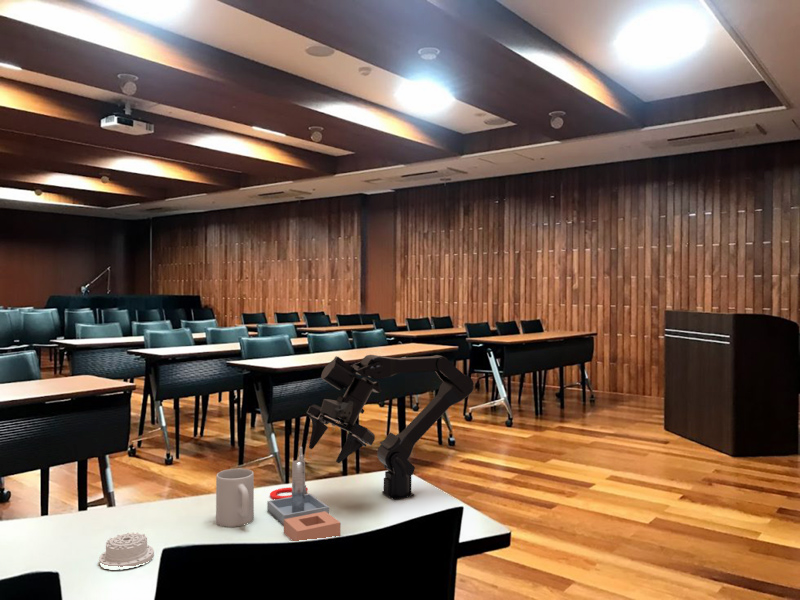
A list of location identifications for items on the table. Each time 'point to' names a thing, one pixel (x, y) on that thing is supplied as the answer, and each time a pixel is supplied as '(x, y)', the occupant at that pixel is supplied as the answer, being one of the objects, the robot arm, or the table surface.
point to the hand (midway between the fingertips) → (323, 455)
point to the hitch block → (311, 526)
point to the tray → (284, 508)
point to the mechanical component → (127, 550)
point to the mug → (234, 497)
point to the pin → (298, 486)
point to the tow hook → (275, 492)
